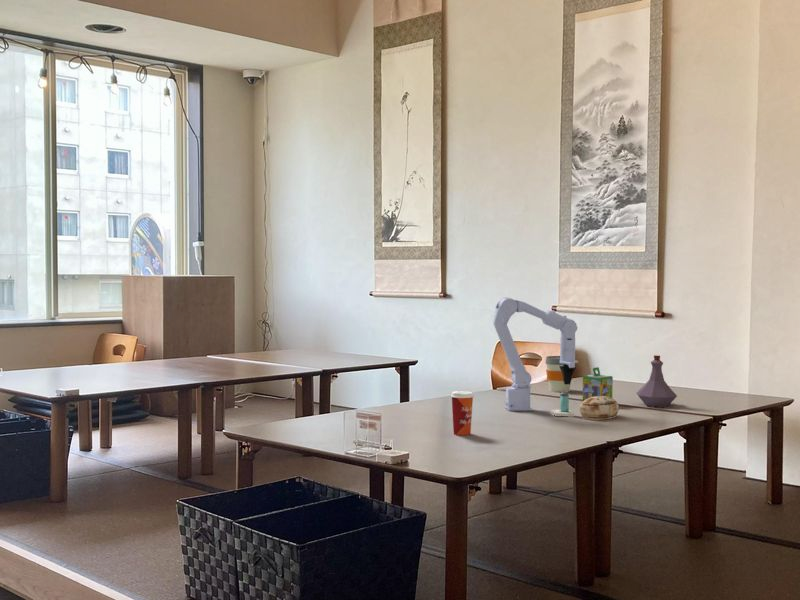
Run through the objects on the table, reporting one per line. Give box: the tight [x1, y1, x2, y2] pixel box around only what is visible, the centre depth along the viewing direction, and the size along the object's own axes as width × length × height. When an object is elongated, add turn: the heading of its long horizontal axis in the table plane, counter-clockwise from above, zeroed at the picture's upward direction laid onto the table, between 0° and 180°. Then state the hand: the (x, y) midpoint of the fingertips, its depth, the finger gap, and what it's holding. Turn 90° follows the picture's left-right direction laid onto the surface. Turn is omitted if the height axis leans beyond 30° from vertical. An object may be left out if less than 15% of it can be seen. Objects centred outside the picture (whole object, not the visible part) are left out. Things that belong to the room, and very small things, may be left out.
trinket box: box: [579, 396, 620, 421], centre depth 341 cm, size 13×15×8 cm
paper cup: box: [450, 390, 474, 436], centre depth 306 cm, size 8×8×14 cm
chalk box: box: [582, 366, 614, 402], centre depth 372 cm, size 9×9×15 cm
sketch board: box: [549, 409, 575, 417], centre depth 345 cm, size 7×8×1 cm
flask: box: [635, 354, 678, 407], centre depth 369 cm, size 16×16×20 cm
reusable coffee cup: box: [545, 355, 574, 393], centre depth 410 cm, size 13×13×15 cm
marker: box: [559, 392, 570, 412], centre depth 345 cm, size 3×3×7 cm
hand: (567, 384), depth 358 cm, fingers closed
